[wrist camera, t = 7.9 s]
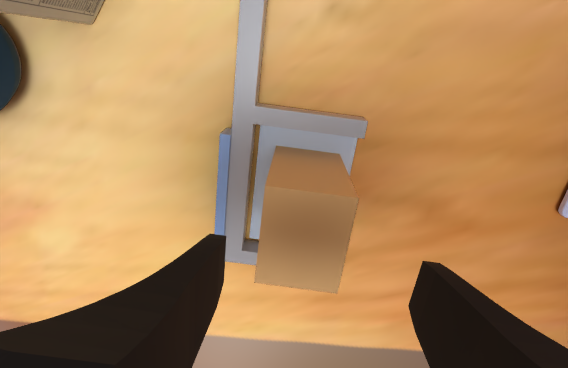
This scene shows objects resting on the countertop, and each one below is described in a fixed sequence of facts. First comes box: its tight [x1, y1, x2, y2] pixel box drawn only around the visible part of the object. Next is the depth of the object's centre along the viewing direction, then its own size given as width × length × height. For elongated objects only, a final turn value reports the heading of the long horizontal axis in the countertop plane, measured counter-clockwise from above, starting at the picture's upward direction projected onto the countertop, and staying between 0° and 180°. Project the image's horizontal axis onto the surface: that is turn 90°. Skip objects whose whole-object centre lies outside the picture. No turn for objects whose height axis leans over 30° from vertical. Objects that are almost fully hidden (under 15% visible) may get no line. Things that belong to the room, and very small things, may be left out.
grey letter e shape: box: [215, 0, 368, 265], centre depth 19 cm, size 8×20×2 cm, turn 173°
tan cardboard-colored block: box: [254, 145, 359, 294], centre depth 18 cm, size 4×5×7 cm
